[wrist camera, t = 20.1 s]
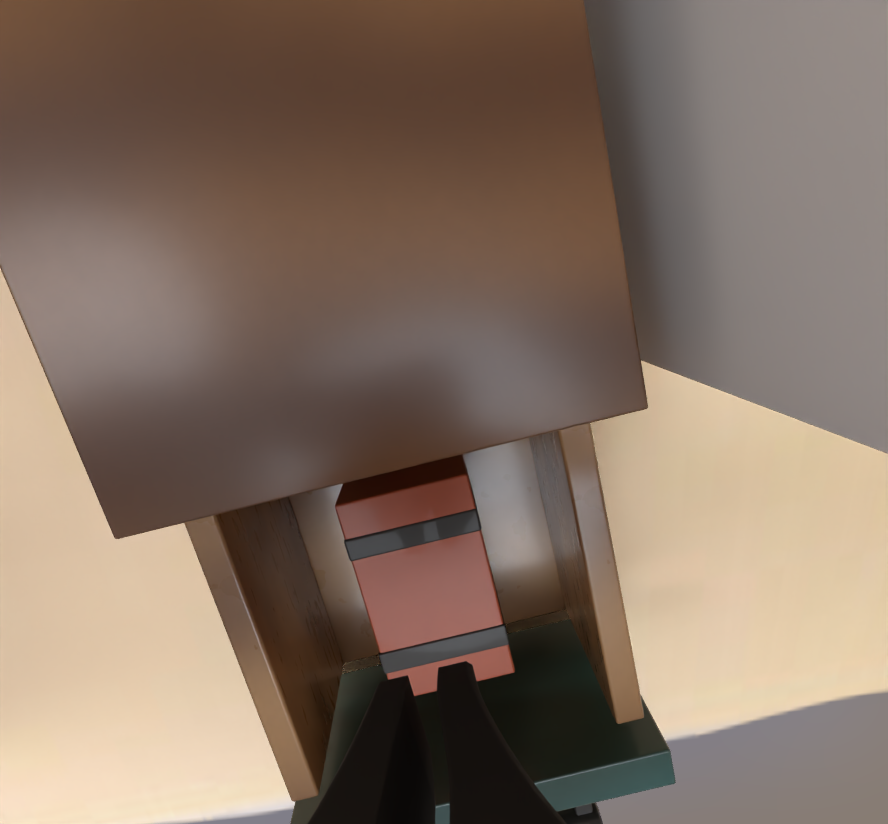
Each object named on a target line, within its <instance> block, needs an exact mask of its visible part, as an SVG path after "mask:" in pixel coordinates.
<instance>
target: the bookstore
mask: <svg viewBox="0 0 888 824" xmlns="http://www.w3.org/2000/svg"><path fill="white" fill-rule="evenodd" d="M584 5H585V11H586V18H587V24H588V30H589V37H590V43H591V49H592V56H593V62H594V68H595V75H596V81H597V87H598V94H599V100H600V106H601V113H602V119H603V125H604V132H605V138H606V144H607V151H608V157H609V163H610V170H611V176H612V182H613V189H614V195H615V201H616V207H617V214H618V220H619V226H620V233H621V239H622V245H623V252H624V258H625V264H626V271H627V277H628V283H629V290H630V296H631V302H632V309H633V315H634V321H635V328H636V334H637V340H638V347H639V353H640V359H641V360H642V361H645V362H647V363H650V364H653V365H655V366H658V367H661V368H663V369H666V370H668V371H671V372H674V373H676V374H679V375H682V376H684V377H687V378H690V379H692V380H695V381H697V382H700V383H703V384H705V385H708V386H711V387H713V388H716V389H719V390H721V391H724V392H727V393H729V394H732V395H734V396H737V397H740V398H742V399H745V400H748V401H750V402H753V403H756V404H758V405H761V406H763V407H766V408H769V409H771V410H774V411H777V412H779V413H782V414H785V415H787V416H790V417H793V418H795V419H798V420H800V421H803V422H806V423H808V424H811V425H814V426H816V427H819V428H822V429H824V430H827V431H829V432H832V433H835V434H837V435H840V436H843V437H845V438H848V439H851V440H853V441H856V442H858V443H861V444H864V445H866V446H869V447H872V448H874V449H877V450H880V451H882V452H885V453H888V0H584Z"/></svg>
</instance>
